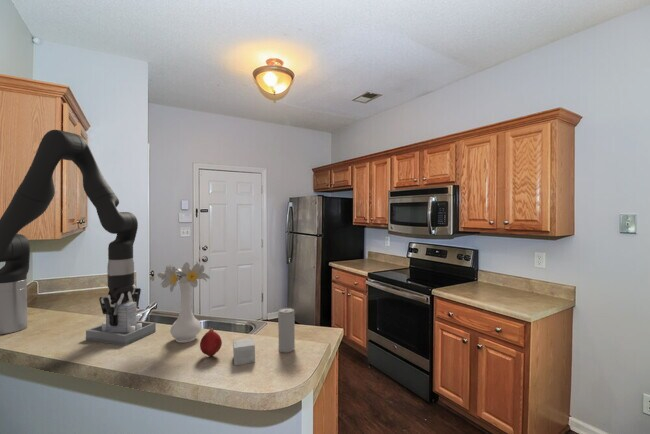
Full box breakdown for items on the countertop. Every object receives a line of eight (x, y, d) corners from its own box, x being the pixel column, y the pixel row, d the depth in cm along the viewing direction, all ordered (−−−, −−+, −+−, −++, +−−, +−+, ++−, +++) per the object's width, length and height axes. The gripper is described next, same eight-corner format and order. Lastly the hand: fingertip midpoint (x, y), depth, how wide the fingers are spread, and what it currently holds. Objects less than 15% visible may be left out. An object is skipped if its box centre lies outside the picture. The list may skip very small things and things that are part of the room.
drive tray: (85, 339, 104) (85, 327, 104) (119, 326, 115) (119, 315, 115) (125, 345, 99) (125, 332, 99) (155, 331, 111) (155, 320, 111)
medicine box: (137, 327, 109) (137, 301, 109) (127, 331, 105) (127, 305, 105) (115, 326, 110) (115, 300, 110) (105, 330, 105) (105, 304, 105)
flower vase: (177, 328, 113) (176, 258, 113) (220, 336, 107) (219, 261, 106) (144, 342, 101) (144, 263, 101) (191, 352, 95) (190, 267, 94)
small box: (233, 356, 92) (233, 339, 92) (253, 354, 94) (253, 337, 94) (233, 366, 87) (233, 347, 86) (255, 363, 88) (255, 345, 88)
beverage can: (297, 347, 98) (297, 308, 98) (290, 354, 93) (290, 313, 93) (282, 345, 99) (282, 307, 99) (275, 352, 95) (275, 311, 95)
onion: (201, 362, 88) (201, 333, 88) (198, 354, 93) (198, 327, 93) (223, 358, 91) (223, 330, 91) (219, 350, 96) (219, 323, 96)
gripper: (130, 267, 115) (130, 315, 115) (91, 275, 101) (91, 329, 101) (147, 269, 113) (147, 317, 113) (110, 277, 99) (110, 332, 99)
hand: (121, 322), depth 107 cm, fingers open, 5 cm apart
